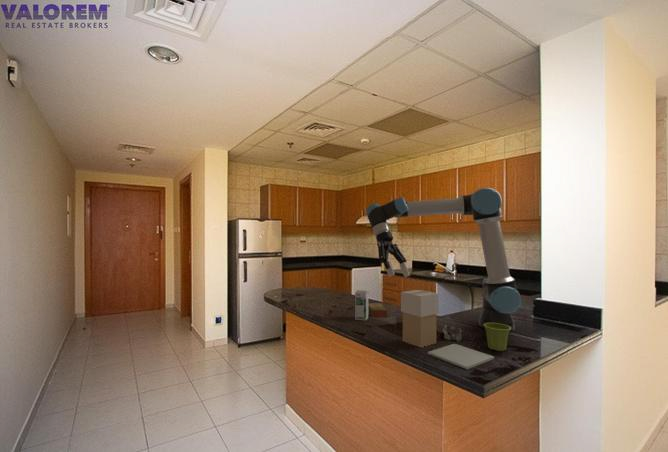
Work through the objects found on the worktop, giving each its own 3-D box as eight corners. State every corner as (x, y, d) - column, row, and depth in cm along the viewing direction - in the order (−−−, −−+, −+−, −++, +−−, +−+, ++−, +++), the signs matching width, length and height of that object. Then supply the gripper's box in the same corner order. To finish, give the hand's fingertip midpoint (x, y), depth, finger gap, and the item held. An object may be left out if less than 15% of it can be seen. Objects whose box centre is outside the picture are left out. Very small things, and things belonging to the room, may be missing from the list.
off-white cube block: (418, 311, 139) (418, 289, 139) (438, 317, 130) (438, 293, 130) (400, 315, 133) (400, 291, 133) (420, 321, 124) (420, 296, 124)
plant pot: (502, 344, 129) (502, 322, 129) (516, 353, 120) (516, 329, 120) (479, 344, 129) (479, 322, 129) (491, 353, 120) (491, 329, 120)
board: (454, 345, 127) (454, 343, 127) (494, 358, 114) (494, 356, 114) (427, 354, 118) (427, 351, 118) (467, 369, 105) (467, 367, 105)
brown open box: (418, 337, 138) (418, 308, 138) (436, 343, 130) (436, 313, 130) (402, 341, 132) (402, 311, 133) (420, 347, 125) (420, 316, 125)
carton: (380, 310, 186) (380, 302, 187) (387, 317, 170) (387, 309, 171) (366, 310, 186) (366, 302, 186) (371, 317, 170) (371, 309, 170)
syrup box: (354, 319, 164) (354, 291, 164) (358, 317, 170) (358, 289, 170) (365, 321, 162) (365, 292, 162) (368, 318, 168) (368, 290, 168)
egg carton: (461, 342, 132) (461, 332, 132) (442, 339, 135) (442, 330, 135) (462, 334, 142) (462, 325, 142) (444, 332, 145) (444, 323, 145)
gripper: (390, 240, 163) (406, 279, 155) (361, 234, 145) (377, 278, 136) (402, 233, 159) (419, 273, 151) (374, 226, 141) (392, 271, 132)
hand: (399, 276), depth 143 cm, fingers open, 13 cm apart
